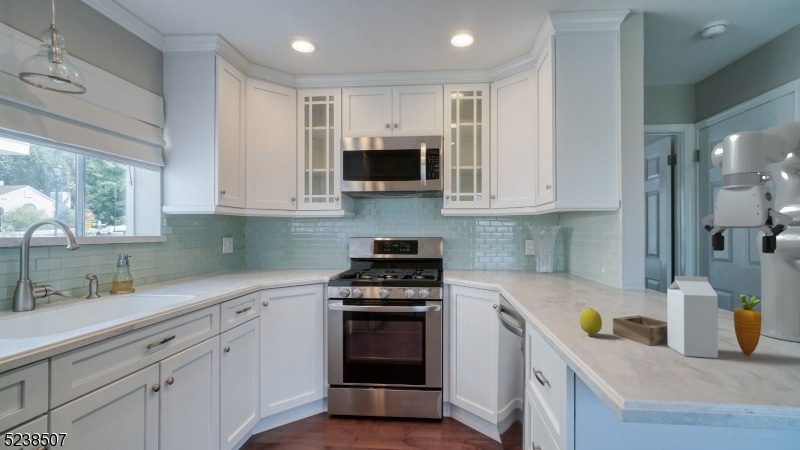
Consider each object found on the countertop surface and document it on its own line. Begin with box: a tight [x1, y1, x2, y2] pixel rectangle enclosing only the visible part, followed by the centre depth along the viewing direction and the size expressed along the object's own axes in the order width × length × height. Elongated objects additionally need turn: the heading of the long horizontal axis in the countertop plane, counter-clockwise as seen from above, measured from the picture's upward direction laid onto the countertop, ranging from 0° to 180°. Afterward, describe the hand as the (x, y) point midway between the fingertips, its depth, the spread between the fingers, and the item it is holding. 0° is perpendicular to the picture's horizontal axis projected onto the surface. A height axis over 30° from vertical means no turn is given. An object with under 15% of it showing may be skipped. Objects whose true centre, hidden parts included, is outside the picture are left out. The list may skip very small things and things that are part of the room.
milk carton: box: [666, 275, 719, 359], centre depth 85 cm, size 7×7×19 cm
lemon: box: [579, 307, 603, 337], centre depth 98 cm, size 6×6×8 cm
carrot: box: [733, 294, 761, 357], centre depth 83 cm, size 5×5×15 cm
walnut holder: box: [612, 315, 668, 347], centre depth 97 cm, size 11×11×4 cm
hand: (742, 251), depth 84 cm, fingers open, 9 cm apart
